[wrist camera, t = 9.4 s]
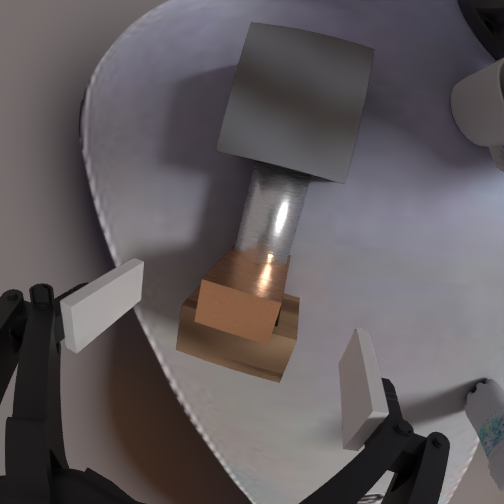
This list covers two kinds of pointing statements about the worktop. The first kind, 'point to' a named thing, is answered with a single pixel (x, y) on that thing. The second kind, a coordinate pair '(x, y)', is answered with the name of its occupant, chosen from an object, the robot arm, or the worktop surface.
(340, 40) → the sleeve and socket
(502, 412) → the bottle
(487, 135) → the cup
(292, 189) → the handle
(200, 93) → the worktop surface
